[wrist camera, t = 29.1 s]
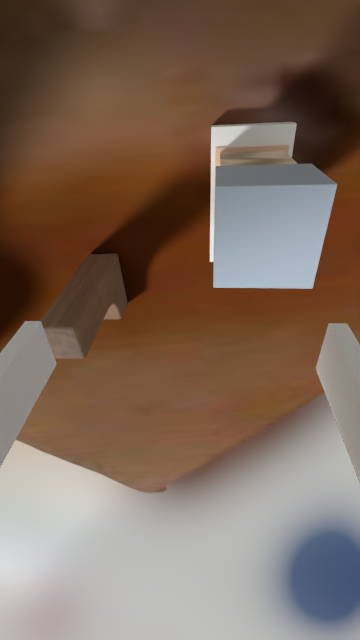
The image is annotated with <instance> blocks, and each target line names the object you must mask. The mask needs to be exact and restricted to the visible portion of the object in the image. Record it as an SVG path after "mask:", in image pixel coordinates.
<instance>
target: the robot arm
mask: <svg viewBox="0 0 360 640" xmlns="http://www.w3.org/2000/svg"><path fill="white" fill-rule="evenodd" d="M56 364H57V363H56V361H55V358H54V355H53V353H52V350H51V347H50V344H49V342H48V339H47V336H46V334H45V331H44V328H43V326H42V323H41V321H25V322H24V324H23V325H22V326H21V327H20V329H19V330H18V331H17V333H16V334H15V335H14V336H13V338H12V339H11V340H10V342H9V343H8V344H7V345H6V347H5V348H4V349H3V350H2V352H1V353H0V467H1V465H2V463H3V461H4V459H5V457H6V455H7V454H8V452H9V450H10V448H11V446H12V445H13V443H14V441H15V439H16V437H17V435H18V434H19V432H20V430H21V428H22V426H23V425H24V423H25V421H26V419H27V417H28V415H29V414H30V412H31V410H32V408H33V406H34V404H35V403H36V401H37V399H38V397H39V395H40V393H41V392H42V390H43V388H44V386H45V384H46V382H47V381H48V379H49V377H50V375H51V373H52V371H53V370H54V368H55V366H56ZM316 371H317V373H318V376H319V378H320V381H321V384H322V386H323V389H324V391H325V394H326V397H327V399H328V402H329V404H330V407H331V410H332V412H333V415H334V417H335V420H336V423H337V425H338V428H339V430H340V433H341V435H342V438H343V441H344V443H345V446H346V448H347V451H348V453H349V456H350V459H351V461H352V464H353V466H354V469H355V472H356V474H357V477H358V480H359V482H360V345H359V343H358V341H357V340H356V338H355V336H354V335H353V333H352V331H351V330H350V328H349V326H348V324H339V323H329V324H328V328H327V331H326V335H325V338H324V342H323V345H322V349H321V352H320V356H319V359H318V363H317V366H316Z"/></svg>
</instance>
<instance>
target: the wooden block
mask: <svg viewBox="0 0 360 640" xmlns="http://www.w3.org/2000/svg"><path fill="white" fill-rule="evenodd" d="M127 303H128V302H127V297H126V292H125V288H124V283H123V278H122V273H121V268H120V263H119V258H118V255H117V254H116V253H114V254H90V255H89V256H88V257H87V258H86V260H85V261H84V262H83V264H82V265H81V266H80V268H79V269H78V270H77V272H76V273H75V274H74V276H73V277H72V278H71V280H70V281H69V282H68V284H67V285H66V287H65V288H64V289H63V291H62V292H61V293H60V295H59V296H58V297H57V299H56V300H55V301H54V303H53V304H52V305H51V307H50V308H49V309H48V311H47V312H46V313H45V315H44V316H43V318H42V319H41V320H40V321H41V323H42V326H43V328H44V331H45V334H46V336H47V339H48V342H49V344H50V347H51V350H52V353H53V355H54V358H85V357H86V355H87V353H88V351H89V349H90V347H91V345H92V342H93V340H94V338H95V336H96V334H97V332H98V330H99V328H100V326H101V324H102V321H103V319H121V318H122V316H123V314H124V311H125V309H126V306H127Z"/></svg>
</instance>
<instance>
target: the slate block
mask: <svg viewBox="0 0 360 640" xmlns="http://www.w3.org/2000/svg"><path fill="white" fill-rule="evenodd" d="M336 187H337V184H336V183H335V182H334V181H332V180H331V179H330V178H329V177H328V176H326V175H325V174H324V173H323V172H321V171H320V170H319V169H318V168H316V167H315V166H314V165H313V164H274V165H235V166H216V177H215V218H214V277H213V287H214V288H313V284H314V280H315V276H316V271H317V267H318V263H319V259H320V255H321V250H322V246H323V242H324V238H325V234H326V229H327V225H328V221H329V217H330V213H331V208H332V204H333V200H334V196H335V192H336Z"/></svg>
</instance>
